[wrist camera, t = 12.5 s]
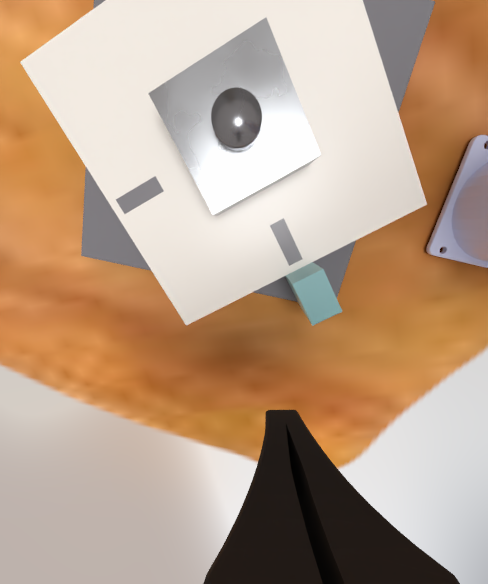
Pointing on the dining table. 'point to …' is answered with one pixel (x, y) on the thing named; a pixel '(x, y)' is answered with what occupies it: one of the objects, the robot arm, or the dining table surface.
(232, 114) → the cover
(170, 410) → the dining table surface
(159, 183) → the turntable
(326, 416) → the dining table surface
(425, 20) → the susan base
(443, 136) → the dining table surface
